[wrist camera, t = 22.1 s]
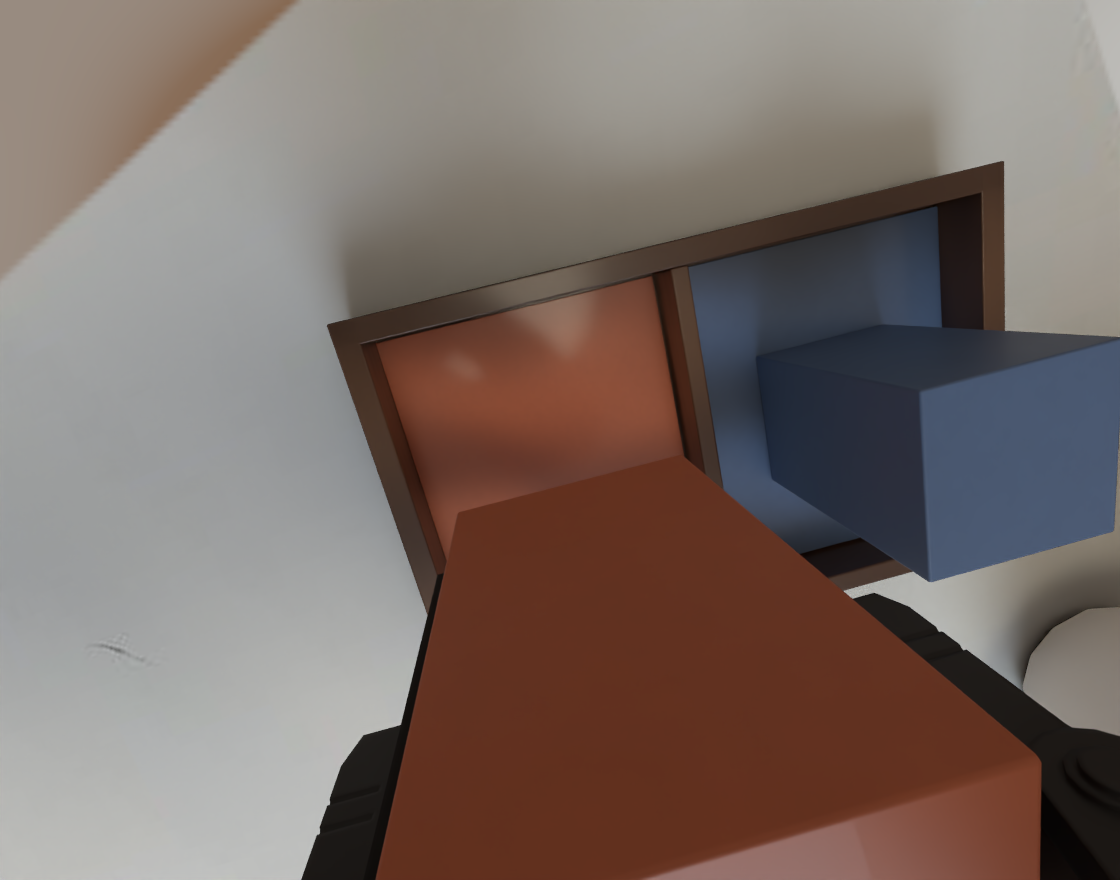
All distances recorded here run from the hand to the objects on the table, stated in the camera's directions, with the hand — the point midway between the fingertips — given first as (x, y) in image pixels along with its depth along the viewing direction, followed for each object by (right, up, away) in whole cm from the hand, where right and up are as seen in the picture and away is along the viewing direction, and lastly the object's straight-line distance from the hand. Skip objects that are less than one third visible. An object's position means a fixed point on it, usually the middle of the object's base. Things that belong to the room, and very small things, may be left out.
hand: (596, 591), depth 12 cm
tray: (+4, +4, +9) cm, 11 cm away
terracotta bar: (0, 0, 0) cm, 0 cm away
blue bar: (+9, +5, +9) cm, 14 cm away
